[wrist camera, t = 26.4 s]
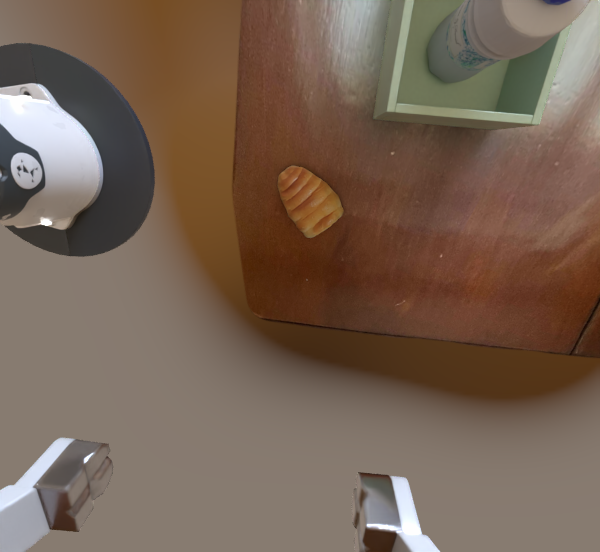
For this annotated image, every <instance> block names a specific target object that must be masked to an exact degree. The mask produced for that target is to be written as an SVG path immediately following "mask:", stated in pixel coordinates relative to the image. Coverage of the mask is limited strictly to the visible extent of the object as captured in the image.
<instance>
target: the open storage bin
mask: <svg viewBox="0 0 600 552" xmlns="http://www.w3.org/2000/svg"><path fill="white" fill-rule="evenodd" d="M464 1H465V0H391V3H390V9H389V16H388V23H387V29H386V36H385V42H384V49H383V55H382V62H381V69H380V75H379V82H378V88H377V95H376V101H375V108H374V115H373V119H374V120H386V121H397V122H408V123H420V124H431V125H442V126H454V127H465V128H476V129H488V130H496V129H506V128H516V127H525V126H534V125H539V123H540V120H541V117H542V114H543V111H544V108H545V105H546V102H547V99H548V96H549V93H550V89H551V86H552V83H553V80H554V77H555V74H556V71H557V68H558V65H559V62H560V59H561V56H562V53H563V50H564V47H565V44H566V41H567V38H568V35H569V31H570V28H571V25H572V23H571V24H570V25H569V26H567V27H566V28H565V29H563V30H562V31H560V32H559V33H558V34H556V35H555V36H554V37H552V38H551V39H549V40H548V41H547V42H546V43H545V44H543V45H542V46H541V47H539V48H538V49H536V50H534V51H532V52H530V53H528V54H525V55H522V56H519V57H516V58H513V59H508V60H501V61H499V62H497V63H495V64H493V65H491V66H489V67H486V68H485V69H483V70H482V71H480V72H479V73H477V74H476V75H474V76H472V77H471V78H469V79H466V80H464V81H460V82H454V83H446V82H444V81H442V80H441V79H440V78H439V77H437V76H436V75H434V74H433V73H431V71H430V69H429V59H428V52H427V48H428V44H429V42H430V39H431V37H432V35H433V34H434V32H435V30H436V28H437V27H438V26H439V25H440V23H441V22H442V21H443V20H444V19H445V18H446V17H447V16H448V15H450V14H451V13H452V12H453V11H454V10H456V9H457V8H458V7H460V5H461V4H462V3H463V2H464Z"/></svg>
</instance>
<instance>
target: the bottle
mask: <svg viewBox="0 0 600 552" xmlns="http://www.w3.org/2000/svg"><path fill="white" fill-rule="evenodd" d="M589 1H590V0H465V1H464V2H463V3H462V4H461V5H460V7H458V8H457V9H456V10H454V11H453V12H452V13H451V14H450V15H448V16H447V17H446V18H445V19H444V20H443V21H442V22H441V23H440V25H439V26H438V27H437V28H436V30H435V32H434V34H433V35H432V37H431V39H430V42H429V44H428V48H427V52H428V59H429V69H430V71H431V73H433V74H434V75H436V76H437V77H439V78H440V79H441V80H442V81H444V82H446V83H454V82H460V81H464V80H466V79H469V78H471V77H472V76H474V75H476V74H477V73H479V72H480V71H482V70H483V69H485V68H486V67H489V66H491V65H493V64H495V63H497V62H499V61H501V60H508V59H513V58H516V57H519V56H522V55H525V54H528V53H530V52H532V51H534V50H536V49H538V48H539V47H541V46H542V45H543V44H545V43H546V42H547V41H548V40H549V39H551V38H552V37H554V36H555V35H556V34H558V33H559V32H560V31H562V30H563V29H565V28H566V27H567V26H569V25H570V24H571V23H572V22H573V21H574V20H576V18H577V17H578V16H579V15H580V14H581V13H582V11H583V10H584V9H585V7H586V6H587V4H588V3H589Z"/></svg>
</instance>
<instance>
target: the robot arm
mask: <svg viewBox="0 0 600 552" xmlns="http://www.w3.org/2000/svg"><path fill="white" fill-rule="evenodd" d="M29 93H30V96H29V95H28V94H29ZM102 183H103V166H102V161H101V157H100V154H99V151H98V149H97V146H96V144H95V142H94V141H93V139H92V137H91V136H90V134H89V133H88V132H87V130H86V129H85V128H84V127H83V126H82V125H81V124H80V123H79V122H78V121H77V120H76V119H75V118H74V117H72V116H71V115H70V114H68V113H67V112H66V111H64V110H63V109H62V108H61V107H60V106H59V105H58V103H57V102H56V101H55V99H54V98H53V96H52V95H51V94H50V92H49V91H48V90H47V89H46V88H45V87H44V86H43V85H41V84H34V83H29V84H23V85H16V86H10V87H3V88H0V223H1V224H2V225H5V226H11V225H14V226H15V227H16V228H26V227H31V226H36V225H41V224H42V225H46V226H49V227H53V228H56V229H60V230H64V229H69V228H71V227H72V225H73V224H74V222H75V220H76V218H77V216H78V215H79V214H80V213H81V212H82V211H84V210H85V209H87V208H88V207H90V206H91V205H92V204H93V203H94V202H95V200H96V199H97V197H98V196H99V193H100V191H101V188H102ZM109 452H110V448H109V444H105V443H98V442H91V441H83V440H77V439H69V438H59V439H58V440H56V441H55V442H53V443H52V445H51V446H50V447H49V448H48V449H47V450H46V451H45V452H44V454H42V455H41V457H40V458H39V459H38V460H37V461H36V462H35V463H34V464H33V465H32V466H31V468H30V469H29V470H28V471H27V472H26V473H25V474H24V475H23V476H22V477H21V479H20V480H19V481H18V482H17V483H16V484H15V485H9V486H7V487H5V488H3V489H1V490H0V552H25V551H27V550H28V549H29V548H30V547H31V546H33V545H34V544H35V543H36V542H38V541H39V540H40V539H41V538H42V537H44V536H45V535H46V534H47V533H49V532H50V529H52V530H64V531H74V532H79V530H80V528H81V527H82V526H83V524H84V522H85V521H86V519H87V518H88V516H89V515H90V513H91V512H92V510H93V500H95V499H96V498H97V497H99V496H100V495H102V494H103V492H104V491H105V489H106V487H107V486H108V484H109V482H110V479H111V476H112V473H113V463H112V461H111V460H110V458H109V457H108V456H107V455H108V454H109ZM356 486H357V488H355V489H354V491H353V498H352V521H353V525H354V527H355V528H356V534H355V538H354V544H355V552H440V551H439V550H438V549H437V547H436V546H435V545H434V544H433V543H432V541H431V540H430V539H429V537H428V536H427V535H422V533H421V529H420V526H419V522H418V518H417V514H416V510H415V506H414V503H413V499H412V495H411V491H410V488H409V484H408V481H407V479H406V478H404V477H395V476H388V475H381V474H370V473H360V472H358V474H357V477H356Z"/></svg>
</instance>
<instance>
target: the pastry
mask: <svg viewBox="0 0 600 552" xmlns="http://www.w3.org/2000/svg"><path fill="white" fill-rule="evenodd" d="M277 187H278V190H279V192H280V197H281V200H282V202H283V204H284V206H285V208H286V210H287V214H288V216H289V217H290V218H291V219H292V220H293V221H294V223H295V224H296V227H297V229H298V230H300V231H301V232H303V233H304V235H305V236H306V237H307V238H312V237H315V236H316V235H318V234H320V233H321V232H323V231H324V230H326V229H328V228H329V227H330V226H331V225H332V224H333V223H334V222H336V221H337V220H338V219H339V218H340V217H341V216H342V214H343V208H342V206H341V203H340V199H339V196H338V195H337V194H336V193H335V192H334V191H333V190H332V189H331V188H330V187H329V185H328V184H327V183H326V182H324V181H323V180H321V179H320V178H318V177H317V176H315V175H314V174H313V173H312V172H310V171H308V170H307V169H305V168H303V167H297V166H290V167H288V168H287V169H286V170H284V171H283V172H282V173H281V174H280V175H279V177H278V184H277Z"/></svg>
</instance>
